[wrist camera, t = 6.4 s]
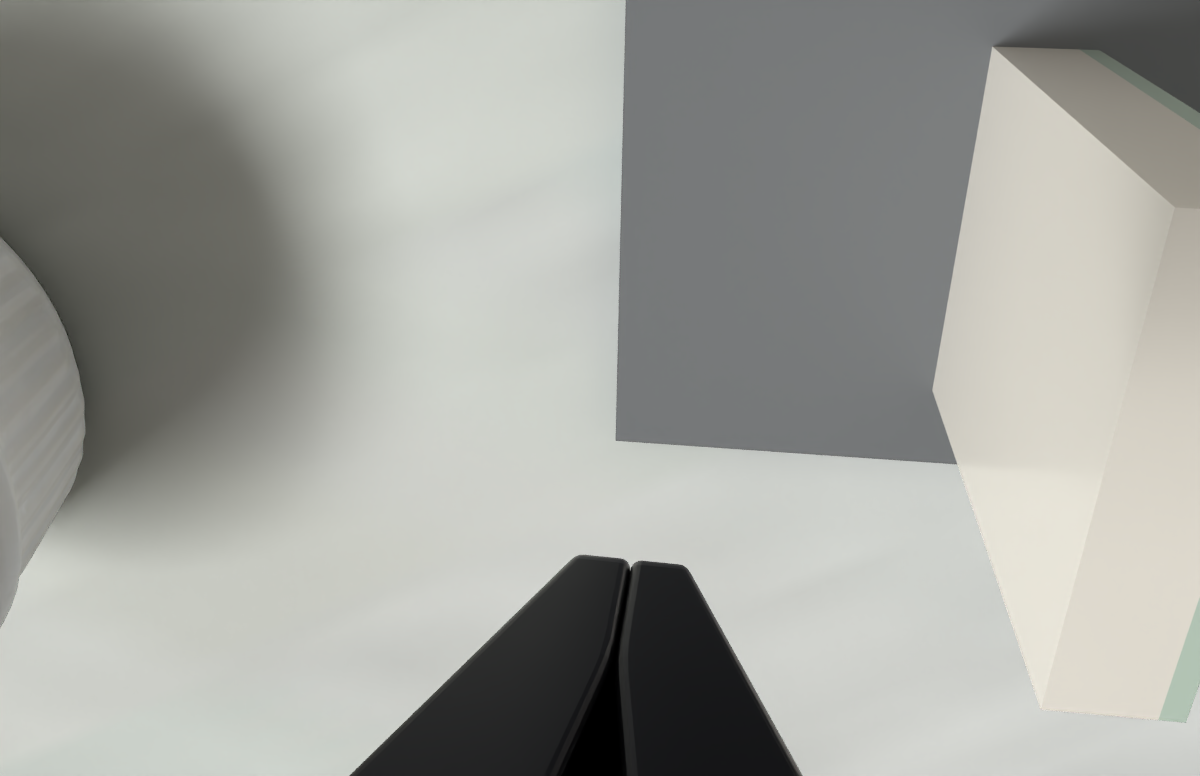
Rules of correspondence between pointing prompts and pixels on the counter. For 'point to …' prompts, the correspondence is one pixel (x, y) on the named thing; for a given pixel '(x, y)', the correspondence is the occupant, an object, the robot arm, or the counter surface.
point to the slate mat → (819, 205)
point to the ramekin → (33, 419)
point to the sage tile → (1083, 376)
